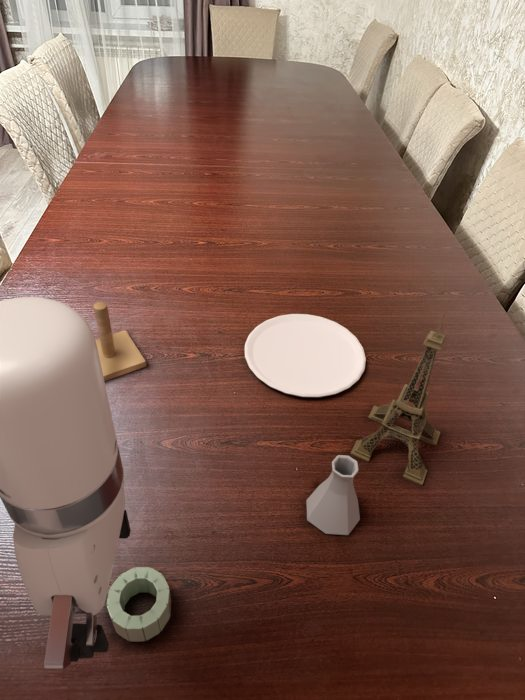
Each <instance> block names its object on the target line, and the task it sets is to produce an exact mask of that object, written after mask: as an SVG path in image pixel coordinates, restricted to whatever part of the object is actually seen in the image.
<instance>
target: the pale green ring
mask: <svg viewBox="0 0 525 700" xmlns="http://www.w3.org/2000/svg"><path fill="white" fill-rule="evenodd" d="M140 593H148V594H150V595H152V596H154V597H155V598H156V599H155V603H154V604H153V605H152V607H151V608H150V610H148V611H146V612H144V613H143V614H141V615H131V614H129V613H127V612H126V611H125V609H126V608H125V607H126V605H127V603H128V602H129V600H130V599H131V598H132V597H134V596H136V595H138V594H140ZM105 604H106V609H107V613H108V615H109V618H110V620H111V623H112V625H113V626H112V627H113V628H114V631H115V633H116V634H117V635H119V636H120V637H121V638H123V639H125V640H126V641H128V642H130V643H131V642H133V643H134V642H146V641H149V640H150V639H152V638H154V637H155V636H158V635H160V633H161V632H162V631H163V629H164V628H165V627H166V625H167V623H169V620H170V618H171V612H172V597H171V590H170V586H169V584H168V582H167V580H166V578H165V576H164V575H163V573H161V572H159V571H158V570H156V569H154V568H153V567H150V566H135V567H132V568H130V569H128V570H127V571H125V572H122V573H121V574H120V575H118V577H117V578H116V579H115V580H114V582H113V583H112V584H111V586H109V588H108V592H107V597H106V603H105Z"/></svg>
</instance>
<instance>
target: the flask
mask: <svg viewBox="0 0 525 700" xmlns="http://www.w3.org/2000/svg"><path fill="white" fill-rule="evenodd" d="M358 472H359V464H358V461H357V460H356V459H354V458H353V457H352V456H350V455H347V454H346V455H343V454H337V455H336V457H335V458H333V460H332V461H331V473H330V474H329V476H328V477H327V478H326V479H325V480H324V481H323V482H321V483H320V484H318V486H317V487H316V488H315V489H314V491H312V493H311V494H310V495H309V496H308V497H307V499H306V503H305V504H306V521H307V522H309V523H310V524H312V525H313V526H314V527H316V528H317V529H318V530H320V531H322V533H324V534H325V535H339V536H349V535H350V533H352V531H353V530H354V528H355V527H356V525H357V524H358V523H359V521H360V520H361V518H360V517H361V516H360V515H361V513H360V506H359V499H358V495H357V492H356V489H355V486H354V478H355V476H356V475H357V474H358Z"/></svg>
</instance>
